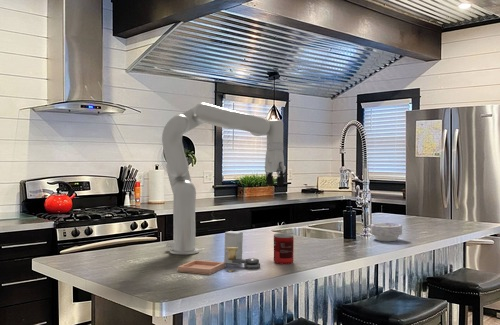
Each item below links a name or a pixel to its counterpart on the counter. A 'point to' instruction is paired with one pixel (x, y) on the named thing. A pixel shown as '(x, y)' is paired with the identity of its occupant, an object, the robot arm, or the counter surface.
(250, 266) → the crank hub
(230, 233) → the skincare box
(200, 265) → the tray
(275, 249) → the canned food
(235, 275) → the counter surface
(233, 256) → the crank
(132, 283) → the counter surface
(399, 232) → the paper bowls
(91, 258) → the counter surface
